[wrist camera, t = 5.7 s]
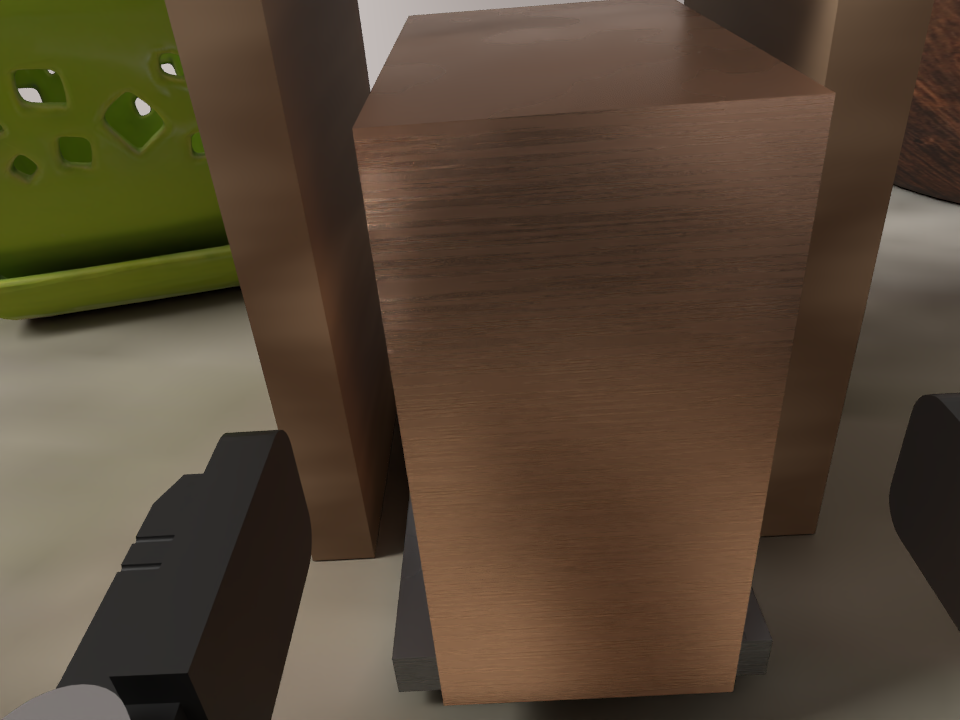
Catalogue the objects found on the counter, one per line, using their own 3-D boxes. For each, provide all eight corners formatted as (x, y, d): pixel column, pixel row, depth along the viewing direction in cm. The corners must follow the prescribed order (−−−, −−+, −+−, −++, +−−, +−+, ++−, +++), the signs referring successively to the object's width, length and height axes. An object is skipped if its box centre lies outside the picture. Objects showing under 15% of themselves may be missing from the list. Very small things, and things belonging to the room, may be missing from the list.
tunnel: (312, 560, 18) (96, -255, 10) (364, 347, 27) (268, -192, 19) (814, 533, 18) (1009, -339, 10) (706, 325, 26) (762, -236, 18)
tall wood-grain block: (394, 741, 14) (257, 134, 8) (432, 330, 27) (391, -20, 21) (783, 723, 14) (935, 85, 8) (634, 317, 26) (649, -41, 20)
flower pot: (314, 302, 30) (238, -61, 24) (-68, 370, 28) (-275, -14, 21) (296, 191, 42) (241, -73, 35) (25, 232, 39) (-90, -44, 33)
